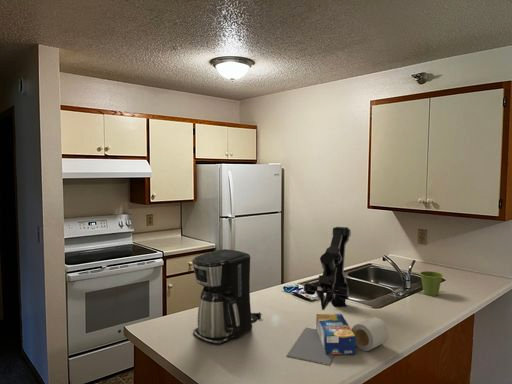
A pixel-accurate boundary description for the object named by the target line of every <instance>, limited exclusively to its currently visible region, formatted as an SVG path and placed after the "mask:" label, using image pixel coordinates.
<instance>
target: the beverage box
mask: <svg viewBox="0 0 512 384" xmlns="http://www.w3.org/2000/svg"><path fill="white" fill-rule="evenodd" d="M315 316H316V318H315V321H316V323H315V324H316V328H315V329H317V332H318V335H319V337H320V340H321V343H322V345H323V348H324V351H325V353H326V354H334V355H356V345H355V335H354V333H353V332H352V328H351V327H350V325H349V323H348V322H347V321H346V319H345V317H344V316H343V314H342V313H316V315H315Z"/></svg>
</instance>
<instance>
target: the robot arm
mask: <svg viewBox="0 0 512 384" xmlns="http://www.w3.org/2000/svg"><path fill="white" fill-rule="evenodd" d="M331 235H332V237H331V238H332V239H331V242H330V245H329V247H327V248H326V249H325V252H324V253H323V254H322V255H321V256H319V257H320V258H319V261H320V264H321V268H322V269H323V270H322V274H319V275H318V286H315V284H314V283H310V282H306V283H304V284H303V290H304V293H305V294H306V295H311V296H312V295H313V296H314V295H315V294H316V296H317V298H318V299H320V306H321V307H320V308H321V311H325V309H326V308H327V306H328V305H329V304H331V305H332V306H333V307H347V304H346V300H349V297H350V293H349V292H350V291H349V285H348V282H347V278H346V276H345V273H344V272H345V270H344V268H345V259H346V258H345V256H346V245H347V243H348V242H349V241H350V237H351V235H352V231H351V229H350V228H349V227H347V226H346V227H345V226H343V227H342V226H336V227H332V234H331Z"/></svg>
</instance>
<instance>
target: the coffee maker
mask: <svg viewBox="0 0 512 384" xmlns="http://www.w3.org/2000/svg"><path fill="white" fill-rule="evenodd" d="M192 267H193V270H194V271H193V272H194V276H195V280H196V283H197V284H198V285H201V286H202V287H203V288H202V290H201V293H200V296H199V301H198V307H197V308H198V309H197V310H198V311H197V327H196V328H193V331H192V333H193V334H194V335H195V336H196V337H197V338H198V339H200V341H203V342H206V343H209V344H214V345H221V344H223V343H227V342H229V341H231V340H233V339H234V340H238V339H239V338H240V337H242V336H243V335H245V334H246V333H248V332H249V331H250V330H251V329H252V327H253V323H254V322H257V319H259V320H260V319H261V318H262V316H263V314H262V313H261V312H252V311H251V310H252V309H251V295H250V294H251V293H250V292H251V291H250V290H251V287H250V280H251V275H250V274H251V255H250V254H249V253H247V252H244V251H239V250H234V249H225V248H224V249H219V250H218V249H217V250H213V251H210V252H209V251H208V252H205V253H202V254H200V255H197V256H195V257H194V258H192Z"/></svg>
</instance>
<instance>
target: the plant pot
mask: <svg viewBox="0 0 512 384" xmlns="http://www.w3.org/2000/svg"><path fill="white" fill-rule="evenodd" d="M419 276H420V279H421V285H422V290H423V294H424V295H427V296H429V297H436V296H439V293H440V288H441V282H442V279H443V277H444V274H443V273H441V272H437V271H431V270H429V271H428V270H424V271H420V272H419Z"/></svg>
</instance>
